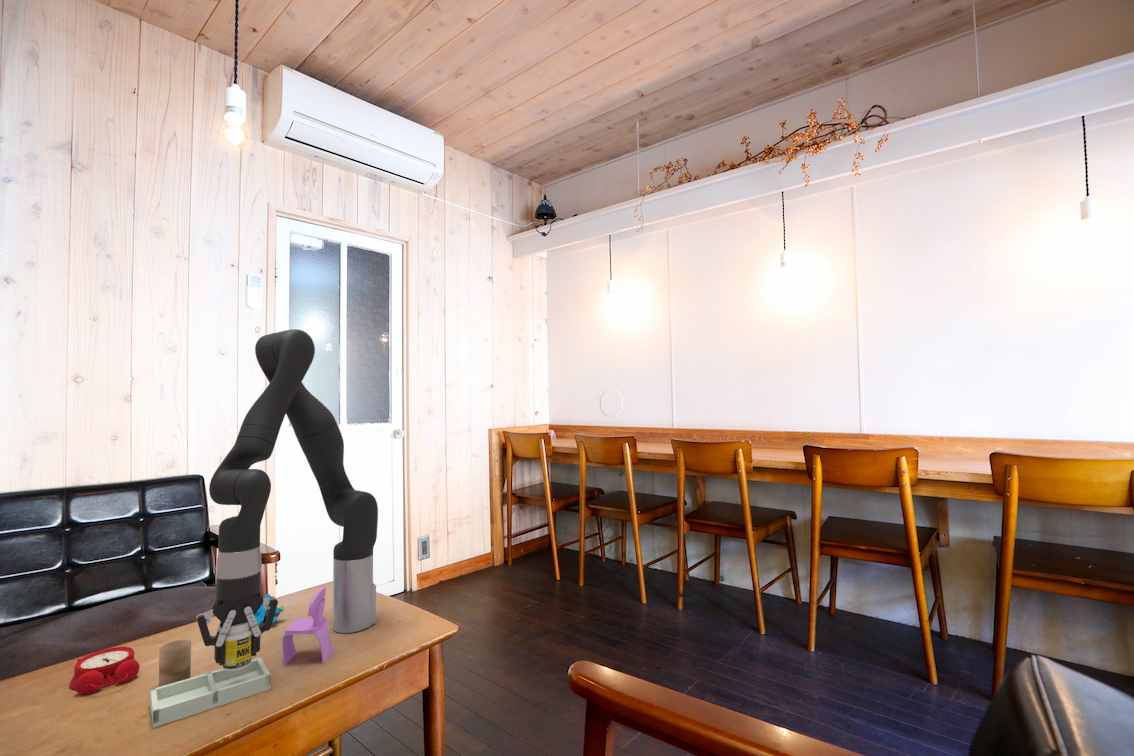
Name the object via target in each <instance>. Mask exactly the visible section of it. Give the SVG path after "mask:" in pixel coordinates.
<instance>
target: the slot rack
mask: <svg viewBox="0 0 1134 756" xmlns="http://www.w3.org/2000/svg"><path fill="white" fill-rule="evenodd" d="M271 676H272V675H271V673H270V671H269V669H268V668H267V666H266V664H265V662H264V660H263V659H262V658H261V657H258V658H254V659H251V663H250V665H249V666H247V667H246V668H244V669H241V670H238V671H225V670H224V669H223V668H220V669H217V670H213V671H209V672H205V673H203V674H202V673H201V674H200V675H196V676H193V677H190V678H189V679H185V680H182V681H178V682H175V683H171V684H168V685H165V686H161V687H159V686H158V687H155V688H152V689H150V690H149V691H150V694H149V708H150V714H151V715H150V716H151V724H152V729H154V728H157V727H159V726H160V727H161V726H162V725H166V724H169V723H172V722H177V721H178V720H181V719H185V718H188V717H190V716H193V715H197V714H200V713H202V712H205V711H209V710H211V709H215V708H218V707H221V706H224V705H227V704H230V703H232V702H233V703H234V702H236V701H239V700H242V699H247V698H248V697H251V696H255V695H258V694H261V693H264V692H266V691H269V690H271V683H272V682H271V678H272V677H271Z"/></svg>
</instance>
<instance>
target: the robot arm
mask: <svg viewBox="0 0 1134 756" xmlns="http://www.w3.org/2000/svg"><path fill="white" fill-rule="evenodd" d="M314 342H315V341H314V340H313V338H312V337H311V336H310V335H309V333H307V332H306V331H304V330H302V329H296V328H295V329H288V330H283V331H277V332H272V333H269V334H264V335H262V336H260V338H259V339H258V340H257V342H256V343H255V346H254V347H255V348H254V349H255V350H254V351H255V352H254V353H255V358H256V361H257V363H258V365H259V367H260V369H261V371H262V372H263V374H264V376H265V378H266V380H267V381H268V382H269V384H268V385H267V387H266V388H265V389H264V391H263V392H262V393H261V394H260V396H259V397H258V398H257V399H256V400H255V402H254V403H253V404H252V405H251V407H250V409H249V410H248V412H247V413H246V415H244V419H243V421H242V423H241V426H240V428H239V432H238V434H237V436H236V439H235V443H234V444H233V446H232V448H231V449H230V450H229V452H228V453H227V454H226V456H225V457H224V459H223V460H222V462H221V463H220V464H219V465H218V467H217V468H216V470H215V472H214V473H213V475H212V477H211V479H210V482H209V485H208V487H209V489H208V490H209V496H210V499H211V500H212V501H213V502H214V503H215V504H217V505H222V506H240V509H239V512H238V514H237V515H234V516H231V517H228V518H225V519H223V520H222V521H221V522H220V524H219V527H218V540H217V542H218V543H217V544H218V545H217V546H218V547H217V550H218V551H217V557H216V562H215V563H216V566H215V571H216V572H215V574H216V575H215V601H214V604H213V606H212V608H211V609H209V610H207V611H204V612H198V613H197V614H196V615H195V619H196V622H197V625H198V629H199V631H200V635H201V638H202V641H203V644H204V646H205V647H210V646H213V647H214V653H213V654H214V656H213V657H214V661H215V663H216V664H218V666H220V667H221V666H223V665H224V650H225V646H224V640H225V637H226V635H227V634H228V631H229V629H230V626H233V625H237V624H242V623H246V622H249V625H250V628H249V629H251V630H252V655H251V658H252V657H256V656H257V653H259V652H260V650H261V635H262V634H264V633H266V632H268V631H270V630H271V628H272V625H273V623H272V622H273V619H274V615H275V612H276V608H278V604H279V601H278V599H277V598H276V597H275V596H271V597H270V598H264V597H263V596H262V593H261V591H262V585H261V584H262V581H261V580H262V567H263V563H262V552H261V525H262V520H263V517H264V514H265V511H266V508H267V504H268V502H269V498H270V495H271V492H272V491H271V490H272V482H271V479H270V476H269V475H268V474H267V473H266V471H264V470H262V469H259V468H258V469H257V468H256V469H255V468H251V467H252V466H253V465H255V464H256V463H260V462H264V461H266V460H268V459H269V458H271V456H272V454H273V452H274V449H275V445H276V443H277V440H278V437H279V433H280V430H281V427H282V424H283V422H284V420H285V416H287V417H286V418H287V419H288V421H289V423H290V425H291V427H292V429H293V432H294V434H295V437H296V439H297V442H298V444H299V446H300V448H301V451H302V453H303V455H304V456H305V458H306V461H307V462H308V465H309V468H310V470H311V471H312V474H313V476H314V478H315V480H316V483H317V485H318V488H319V491H320V493H321V497H322V501H323V504H324V507H325V510H326V513H327V515H328V517H329V519H330V520H331V522H333V523H334V524H335V525H336V526H339V527H343V529H342V530H343V531H342V532H343V533H342V539H341V540H342V541H340V542H338V543H336V544H335V545H334V546H333V555H332V556H333V558H332V559H333V560H332V561H333V566H332V567H333V568H332V569H333V570H332V571H333V574H332V577H333V578H332V579H333V581H332V584H333V585H332V586H333V587H332V592H333V593H332V630H333V631H334V632H337V633H340V634H350V633H351V634H352V633H357V632H360V631H363V630H367V628H369V627H371V626H372V625H375V624H377V585H376V583H374V547H375V545H376V542H377V537H378V520H379V506H378V503H377V502H378V501H377V499H376V498H375V496H374V495H373V494H372V493H371V492H368V491H362V490H356V489H355V487H353V485H352V483H351V481H350V479H349V477H348V475H347V473H346V469H345V466H344V456H345V455H344V454H345V443H344V438H343V435H342V432H341V430H340V427H339V426H338V425H339V424H338V422H337V420H336V418H335V416H334V414H333V412H331V410H330V409H329V408H328V407H327V406H326V405H324V403H323V402H321V401H320V400H319V399H318V398H317V397H316V396H314V395H313V394H312V393H311V392H310V391H309V390H308V389H307V388H306V386H305V384H304V383H303V380H304V379H305V376H306V374H307V373H308V371H309V369H310V367H311V365H312V363H313V361H314V359H315V358H314V357H315V354H316V347H315V343H314ZM262 604H264V608H265V610H266V611H265V615H264V618H263V622H262V623H260V624H259V626H258V624H257V621H256V619H255V616H254V615H255V614H256V612H257V611H258V610H259V608H260V607H261V605H262ZM213 616H214V617H215V618H216V619H217V620H219V624H218V627H217V631H216V634H215V636H213V635H211V633H210V629H209V627H208V625H209V624H210V623H211V622H212V617H213Z"/></svg>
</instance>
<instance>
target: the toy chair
mask: <svg viewBox="0 0 1134 756" xmlns="http://www.w3.org/2000/svg"><path fill="white" fill-rule="evenodd" d="M326 591H327V590H326V586H325V585H324V586H322V587H320V588H319V589H318V591H317V592H316V593H315V594H314V596H313V597H312V599H311V600H310V603H309V607H308V613H307V616H308V617H309V618H307V617H297V618H296V619H295V620H294V621H293V622H292V623H291V624H290V625H289V626H288V627H287V628H286V629H285V630H284V635H283V636H282V638H281V640H282V641H281V646H282V667H286V666H287V665H288V663H289V662H290V661H291V660H292V659H293V657H294V656H295V655H296V654H297V652H298V651H297V649H296V647H295V644H294V635H314V636H316V638H317V640H318V643H319V645H320V646H319V647H320V650H321V664H322V665H324V664H325V663H326V661H327V660H329V657H331V656H332V654H333V652H334V651H335V650H334V647H333V645H332V642H331V639H330V626H329V622H328V620H327V616H324V611H325V610H324V608H325V605H326V603H325V602H326V598H325V596H326Z"/></svg>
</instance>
